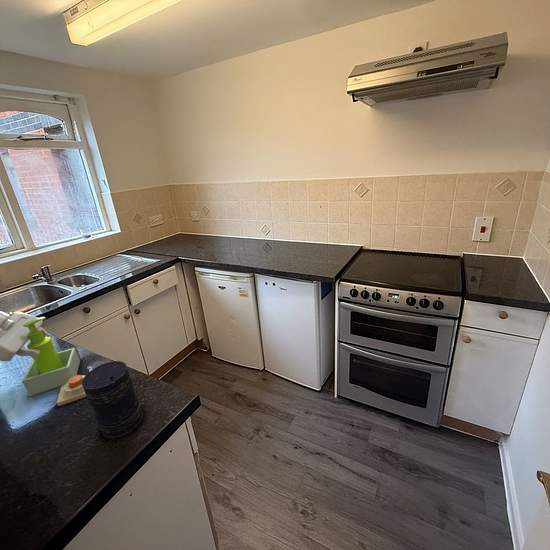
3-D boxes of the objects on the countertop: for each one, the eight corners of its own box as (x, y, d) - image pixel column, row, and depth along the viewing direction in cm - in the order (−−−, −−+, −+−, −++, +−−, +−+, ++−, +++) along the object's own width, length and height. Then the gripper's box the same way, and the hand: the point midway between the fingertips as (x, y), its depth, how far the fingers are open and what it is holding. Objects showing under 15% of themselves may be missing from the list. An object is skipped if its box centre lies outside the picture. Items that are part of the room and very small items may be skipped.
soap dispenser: (72, 370, 98) (49, 316, 91) (51, 384, 92) (24, 328, 85) (61, 367, 100) (37, 314, 93) (39, 380, 94) (12, 326, 87)
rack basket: (29, 396, 89) (21, 381, 87) (39, 373, 99) (32, 359, 97) (75, 381, 93) (68, 366, 91) (80, 361, 103) (74, 347, 101)
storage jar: (93, 428, 75) (72, 381, 69) (128, 401, 82) (112, 356, 77) (116, 444, 70) (95, 394, 64) (151, 414, 77) (135, 367, 72)
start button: (68, 389, 86) (66, 385, 85) (70, 382, 89) (68, 377, 88) (83, 385, 87) (81, 380, 86) (84, 377, 90) (82, 373, 89)
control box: (57, 406, 83) (53, 398, 82) (63, 389, 90) (59, 381, 89) (97, 392, 87) (94, 384, 86) (99, 376, 94) (96, 369, 93)
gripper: (6, 318, 96) (52, 336, 102) (-35, 354, 77) (24, 374, 83) (16, 303, 95) (62, 322, 101) (-22, 335, 77) (36, 356, 83)
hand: (44, 346), depth 92 cm, fingers open, 8 cm apart
